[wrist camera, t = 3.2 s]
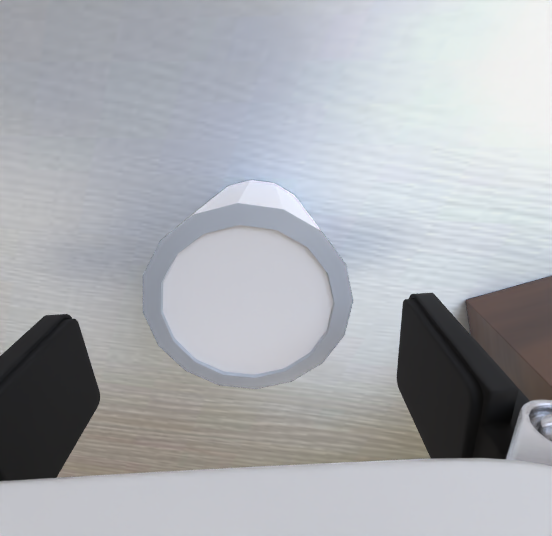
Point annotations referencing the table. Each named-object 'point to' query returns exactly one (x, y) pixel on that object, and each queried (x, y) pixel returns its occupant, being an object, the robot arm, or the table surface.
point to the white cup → (247, 289)
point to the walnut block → (518, 334)
